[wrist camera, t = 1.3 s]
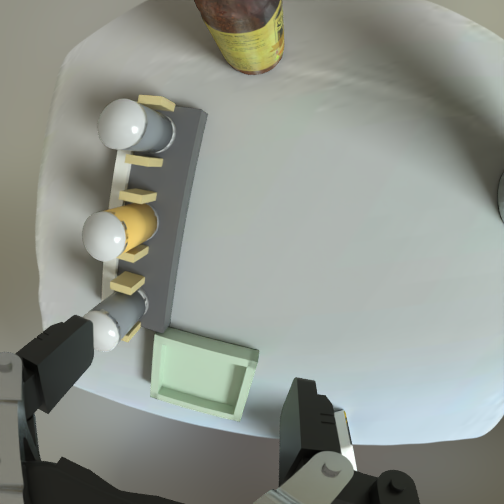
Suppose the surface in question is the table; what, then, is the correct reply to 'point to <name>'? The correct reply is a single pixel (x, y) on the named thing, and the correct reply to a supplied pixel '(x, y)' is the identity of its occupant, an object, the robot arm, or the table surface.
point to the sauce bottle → (246, 32)
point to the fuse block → (167, 206)
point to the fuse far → (116, 317)
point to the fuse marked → (119, 230)
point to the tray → (202, 373)
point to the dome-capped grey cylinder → (135, 127)
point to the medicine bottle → (344, 436)
